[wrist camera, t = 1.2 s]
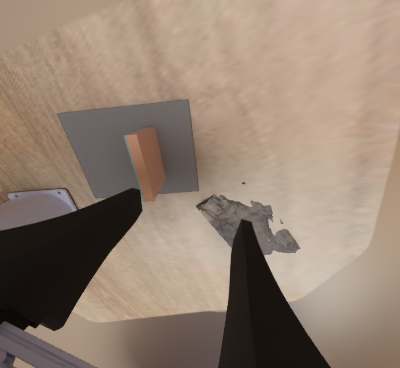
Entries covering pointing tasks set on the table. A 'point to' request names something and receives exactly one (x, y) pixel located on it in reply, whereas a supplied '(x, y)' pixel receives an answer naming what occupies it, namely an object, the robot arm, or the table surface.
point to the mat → (118, 152)
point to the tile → (146, 161)
